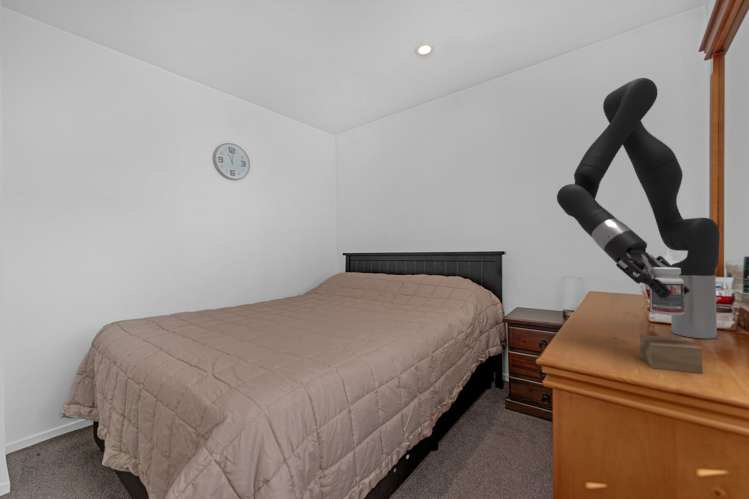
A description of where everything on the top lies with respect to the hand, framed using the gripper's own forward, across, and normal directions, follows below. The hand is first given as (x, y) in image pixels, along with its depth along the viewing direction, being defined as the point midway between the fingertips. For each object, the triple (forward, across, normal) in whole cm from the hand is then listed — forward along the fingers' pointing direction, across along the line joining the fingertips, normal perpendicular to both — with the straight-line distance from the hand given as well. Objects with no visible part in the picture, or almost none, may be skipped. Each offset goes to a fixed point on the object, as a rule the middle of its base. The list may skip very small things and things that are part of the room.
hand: (676, 294), depth 69 cm
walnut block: (+10, 0, +12) cm, 16 cm away
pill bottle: (+2, 0, +4) cm, 5 cm away
